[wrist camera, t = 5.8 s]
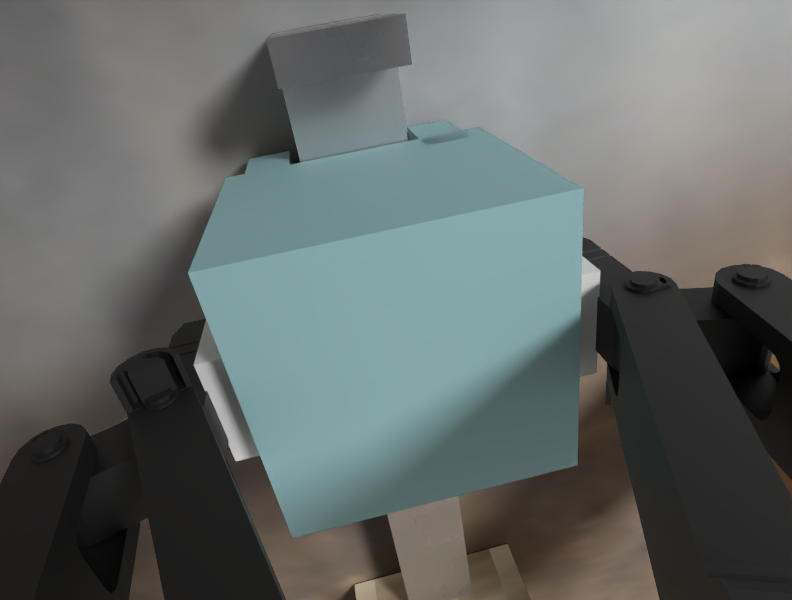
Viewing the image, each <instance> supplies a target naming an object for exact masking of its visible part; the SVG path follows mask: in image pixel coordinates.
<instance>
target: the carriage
mask: <svg viewBox="0 0 792 600" xmlns="http://www.w3.org/2000/svg"><path fill="white" fill-rule="evenodd" d="M407 129H408V136H409V141H405V142H400V143H395V144H390V145H385V146H380V147H376V148H371V149H366V150H361V151H356V152H351V153H346V154H341V155H336V156H331V157H326V158H321V159H316V160H311V161H306V162H301V163H296V164H293V163H292V159H291V155H290V152H289V151H286V152H281V153H276V154H271V155H266V156H261V157H256V158H251V159H249V161H248V164H247V168H246V171H245V174H242V175H237V176H232V177H227V178H226V179H225V181H224V184H223V186H222V189H221V191H220V194H219V196H218V199H217V201H216V204H215V206H214V209H213V211H212V214H211V216H210V219H209V221H208V224H207V226H206V229H205V231H204V234H203V236H202V239H201V241H200V244H199V246H198V249H197V251H196V254H195V256H194V259H193V261H192V264H191V266H190V269H189V271H188V274H189V277H190V280H191V282H192V285H193V287H194V290H195V292H196V295H197V297H198V300H199V302H200V305H201V307H202V310H203V312H204V315H205V318H206V320H207V323H208V325H209V328H210V330H211V333H212V335H213V338H214V340H215V343H216V345H217V348H218V350H219V353H220V356H221V358H222V361H223V363H224V366H225V368H226V371H227V373H228V376H229V378H230V381H231V383H232V386H233V388H234V391H235V393H236V396H237V399H238V401H239V404H240V406H241V409H242V411H243V414H244V416H245V419H246V421H247V424H248V426H249V429H250V431H251V434H252V437H253V439H254V442H255V444H256V447H257V449H258V452H259V454H260V457H261V459H262V462H263V464H264V467H265V469H266V472H267V475H268V477H269V480H270V482H271V485H272V487H273V490H274V492H275V495H276V497H277V500H278V502H279V505H280V507H281V510H282V513H283V515H284V518H285V520H286V523H287V525H288V528H289V530H290V533H291V535H292V538H296V537H300V536H304V535H308V534H312V533H316V532H320V531H323V530H327V529H331V528H335V527H339V526H343V525H347V524H351V523H355V522H359V521H362V520H366V519H370V518H374V517H378V516H382V515H386V514H390V513H394V512H397V511H401V510H405V509H409V508H413V507H417V506H421V505H425V504H429V503H433V502H436V501H440V500H444V499H448V498H452V497H456V496H460V495H464V494H468V493H472V492H475V491H479V490H483V489H487V488H491V487H495V486H499V485H503V484H507V483H510V482H514V481H518V480H522V479H526V478H530V477H534V476H538V475H542V474H546V473H549V472H553V471H557V470H561V469H565V468H569V467H573V466H577V465H578V420H579V376H580V331H581V286H582V241H583V197H584V188H583V187H581V186H579V185H577V184H576V183H574V182H572V181H571V180H569V179H567V178H565V177H564V176H562V175H560V174H559V173H557V172H555V171H554V170H552V169H550V168H548V167H547V166H545V165H543V164H542V163H540V162H538V161H537V160H535V159H533V158H531V157H530V156H528V155H526V154H525V153H523V152H521V151H519V150H518V149H516V148H514V147H513V146H511V145H509V144H508V143H506V142H504V141H502V140H501V139H499V138H497V137H496V136H494V135H492V134H491V133H489V132H487V131H485V130H484V129H482V128H480V127H475V128H470V129H465V130H460V129H459V128H457V127H456V126H454V125H453V124H451V123H450V122H448V121H447V120H442V121H437V122H432V123H427V124H421V125H416V126H411V127H407Z"/></svg>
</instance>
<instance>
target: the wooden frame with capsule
mask: <svg viewBox="0 0 792 600" xmlns="http://www.w3.org/2000/svg"><path fill="white" fill-rule="evenodd" d="M467 560H468V567H469V574H470V581H471V588H472V594H470V595H466V596H462V597H459V598H455V599H451V600H530V597H529V595H528V592H527V590H526V587H525V585H524V583H523V580H522V578H521V575H520V573H519V570H518V568H517V566H516V563H515V561H514V558H513V556H512V553H511V551H510V549H509V546H508V544H505V545H501V546H498V547H494V548H490V549H486V550H483V551H479V552H475V553H471V554H468V555H467ZM355 594H356V600H408V597H407V592H406V588H405V584H404V580H403V576H402V572H400V573H396V574H392V575H389V576H385V577H381V578H377V579H374V580H370V581H366V582H362V583H358V584H355Z"/></svg>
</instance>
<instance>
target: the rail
mask: <svg viewBox="0 0 792 600" xmlns="http://www.w3.org/2000/svg"><path fill="white" fill-rule="evenodd" d="M266 42H267V46H268V50H269V54H270V58H271V62H272V66H273V70H274V74H275V78H276V82H277V86H278V90H280V89H282V90H283V94H284V98H285V102H286V106H287V110H288V115H289V119H290V123H291V127H292V131H293V135H294V139H295V143H296V147H297V151H298V155H299V159H300V163H301V162H306V161H311V160H316V159H321V158H326V157H331V156H336V155H341V154H346V153H351V152H356V151H361V150H366V149H371V148H376V147H380V146H385V145H390V144H395V143H400V142H405V141H408V138H407V130H406V123H405V116H404V109H403V102H402V95H401V88H400V81H399V74H398V67H401V66H406V65H411V64H412V62H411V54H410V46H409V38H408V31H407V23H406V15H405V14H378V15H372V16H367V17H361V18H356V19H350V20H345V21H339V22H334V23H328V24H323V25H317V26H312V27H306V28H300V29H295V30H289V31H284V32H278V33H273V34H271V35H270V36H269V37H268V38H267V39H266ZM387 515H388V520H389V524H390V528H391V532H392V536H393V540H394V544H395V548H396V552H397V556H398V560H399V564H400V568H401V572H402V576H403V580H404V584H405V588H406V592H407V597H408V600H451V599H455V598H459V597H462V596H466V595H470V594H472V588H471V581H470V574H469V567H468V560H467V553H466V546H465V539H464V532H463V525H462V518H461V511H460V504H459V497H458V496H456V497H452V498H448V499H444V500H440V501H436V502H433V503H429V504H425V505H421V506H417V507H413V508H409V509H405V510H401V511H397V512H394V513H390V514H387Z"/></svg>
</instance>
